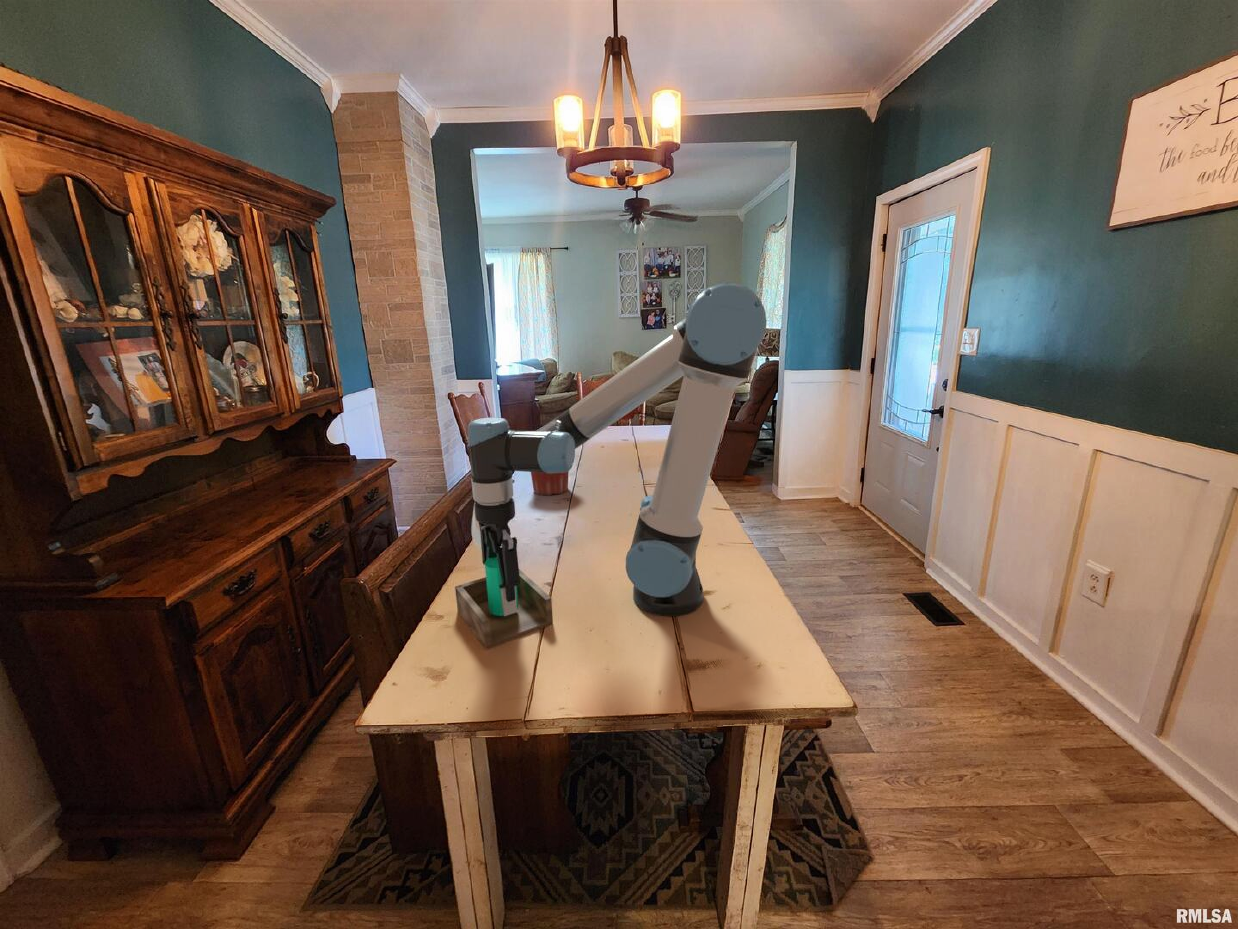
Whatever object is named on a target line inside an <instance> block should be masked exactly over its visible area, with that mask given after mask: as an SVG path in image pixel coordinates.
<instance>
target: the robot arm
mask: <svg viewBox="0 0 1238 929" xmlns="http://www.w3.org/2000/svg"><path fill="white" fill-rule="evenodd" d="M766 315H767V313H766V309H765V306H764V304H763V302H762V301H761V299H760V298H759V296H758V295H757V294H756V293H755V292H754V291H753V290H751V289H749V287H747V286H744V285H742V284H741V285H740V284H738V283H732V282H731V283H730V282H722V283H721V282H720V283H718V284H714V285H711V286H709V287H707V288H706V289H704V290H703V291H702V292H700V293H699V294H698V295H697V296H696V298H695V299H694V300H693V302H692V304H691V305H690V306H689V308H688V311H687V315H686V317H685V318H683V319H682V320H681V321H679V322H678V323H677V324H676V325H674V326H673V331H672V334H670V336H668V337H667V338H665V339H664V340H663V341H661V342H660V343H657V345H655V346H654V347H653V348H651V349H650V350H648V351H647V352H646V353H644V354H643V355H641V356H640V357H638V358H637V359H636V360H634V361H633V362H632V363H629V365H627V366H626V367H625V368H623V369H622V370H621V371H619V372H618V373H616V374H615V375H614V376H612V377H611V378H610V379H608V380H607V381H605V382H604V383H601V385H600V386H598V387H597V388H595V389H594V390H593V391H591V392H590V393H589V394H587V395H585V397H583V398H582V399H580V400H579V401H578V402H576V403H575V404H573V405H572V406H571V407H570V408H568V409H567V410H565V411H563V412H562V413H560V414H559V415H558V416H556V417H555V418H554V419H552V420H551V421H549V422H548V423H546V424H544V425H543V426H542V427H540V428H538V429H537V430H514V429H513V430H512V429H510V425H509V421H508V420H507V419H506V418H502V417H501V418H500V417H483V418H477V419H474V420H472V421H470V422H469V423H468V425H467V444H466V446H467V448H468V454H469V463H470V471H471V479H470V480H471V489H472V490H471V491H472V498H473V500H474V504H473V508H474V507H475V517H476V520H477V521H478V522H479V527H480V534H481V547H482V549H481V558H482V564H483V565H484V566H485V562H486V560H487V559H488V558H494V557H497V559H498V564H499V569H500V574H501V579H502V585H499V588H500V589H501V597H502V609H503V615H504V616H507V615H510V614H513V613H516V612H517V602H516V590H515V586H517V585H520V576H519V569H520V566H519V560H518V559H519V558H518V550H517V547H518V538H517V537H516V536H514V537H511V535H512V534H511V533H512V532H511V528H510V527H509V523H510V521H511V520H513V519H514V518H515V517H516V505H515V498H513V497H514V486H513V485H514V483H515V479H514V478H513V472H526V473H527V472H528V473H531V472H542V473H550V474H553V473H565V472H568V471H569V472H570V470H572V468H573V465H574V462H575V456H576V449H578V448H579V447H580V446H582V445H584V444H586V443H587V442H588V441H589V440H591V439H592V438H593V437H594V436H595V437H596V435H598V434H599V433H601V432H602V431H604V430H605V429H606V428H608V427H610V426H611V425H613V424H614V423H616V422H617V421H619V420H620V419H621V418H623V417H624V416H626V415H627V414H629V413H631V412H632V411H633V410H635V409H636V408H638V407H639V406H640V405H642V404H644V403H645V402H647V401H648V400H650V399H651V398H653V397H654V396H656V395H657V394H659V393H660V392H661V391H663V390H665V389H666V388H668V387H669V386H671V385H672V384H673V383H675V382H677V380H679V379H681V378H682V377H683V378H682V382H681V387H680V390H679V394H678V398H677V400H676V401H677V402H676V405H675V409H674V413H673V416H672V417H673V418H672V421H671V423H670V424H671V425H670V428H669V432H668V436H667V439H666V443H665V448H664V452H663V456H662V459H661V462H660V467H659V471H658V475H657V478H656V483H655V486H654V490H653V494H652V495H648V496H644V498H643V499H642V500H641V504H640V508H639V514H638V519H637V522H636V526H635V530H634V534H633V538H632V542H631V546H630V548H629V550H628V551H627V553H626V556H625V570H626V575H627V577H628V579H629V580H630V582H631V583H632V584H633V587H632V589H633V590H632V598H633V602H634V603H635V604H636V606H637V607H638V608H640V609H641V610H643V611H645V612H648V613H650V614H652V615H656V616H657V615H658V616H665V617H677V616H683V615H686V614H690V613H692V612H694V611H697V610H698V609H699V608H700V607H701V606H702V604H703V601H704V589H703V584H702V583H701V578H700V575H699V572H698V569H697V566H696V565H697V563H696V562H697V561H696V560H697V551H698V547H699V542H700V540H701V536H702V534H703V530H704V526H703V524H702V522H701V521H700V519H699V513H700V510H701V506H702V502H703V500H704V499H703V498H704V496H705V492H706V488H707V485H708V481H709V479H710V475H711V472H712V468H713V464H714V461H715V458H716V454H717V451H718V448H719V445H720V442H721V441H720V440H721V438H722V434H723V432H724V431H723V430H724V427H725V424H726V420H727V419H728V418H727V417H728V413H729V411H730V406H731V404H732V401H733V397H734V394H735V390H736V388H737V387H738V386H739V385H741V384H743V383H745V382H746V381H747V380H748V378H749V376H750V373H751V369H752V366H753V363H754V359H755V356H756V353H757V350H758V348H759V346H760V345H761V343H762V342H763V339H764V337H765V333H766V330H767V316H766Z"/></svg>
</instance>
